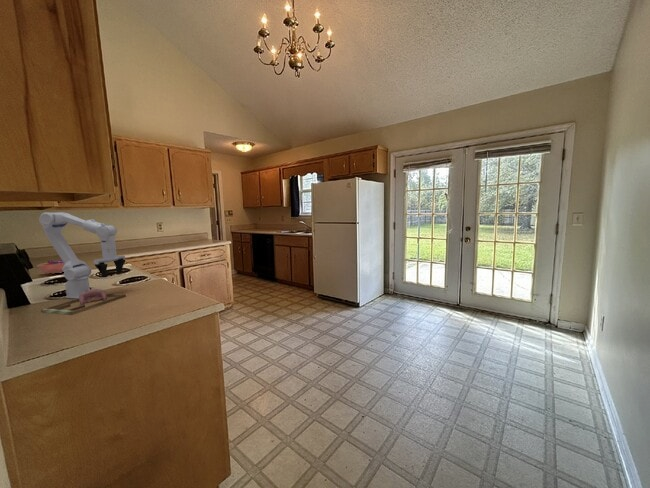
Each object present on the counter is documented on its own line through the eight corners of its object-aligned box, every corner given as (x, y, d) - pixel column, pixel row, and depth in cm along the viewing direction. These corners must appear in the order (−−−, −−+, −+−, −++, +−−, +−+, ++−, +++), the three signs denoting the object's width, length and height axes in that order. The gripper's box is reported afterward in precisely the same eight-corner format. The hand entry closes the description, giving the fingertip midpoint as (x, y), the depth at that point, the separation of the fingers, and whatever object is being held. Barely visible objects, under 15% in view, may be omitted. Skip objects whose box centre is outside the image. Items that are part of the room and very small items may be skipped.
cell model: (40, 274, 197) (37, 258, 196) (77, 269, 210) (75, 255, 209) (37, 278, 185) (35, 261, 183) (77, 273, 198) (75, 257, 196)
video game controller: (106, 301, 136) (104, 288, 137) (107, 299, 132) (104, 286, 134) (80, 307, 129) (77, 293, 130) (80, 305, 125) (77, 290, 127)
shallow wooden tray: (41, 312, 119) (40, 309, 119) (98, 294, 142) (97, 292, 142) (72, 314, 115) (72, 311, 115) (125, 296, 138) (125, 294, 138)
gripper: (100, 251, 130) (103, 279, 132) (128, 247, 144) (131, 272, 146) (89, 251, 132) (92, 278, 134) (117, 247, 146) (120, 272, 148)
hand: (112, 275), depth 140 cm, fingers open, 7 cm apart
